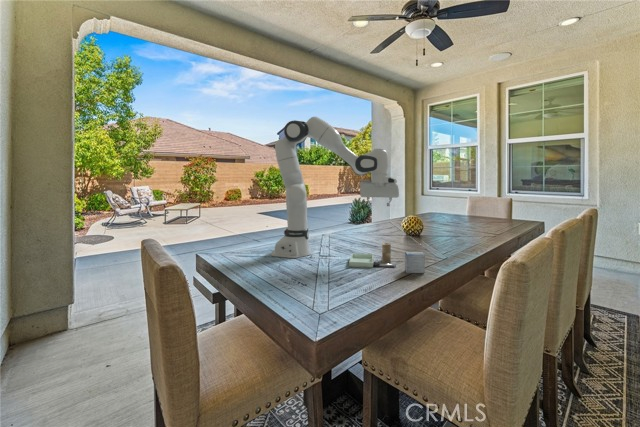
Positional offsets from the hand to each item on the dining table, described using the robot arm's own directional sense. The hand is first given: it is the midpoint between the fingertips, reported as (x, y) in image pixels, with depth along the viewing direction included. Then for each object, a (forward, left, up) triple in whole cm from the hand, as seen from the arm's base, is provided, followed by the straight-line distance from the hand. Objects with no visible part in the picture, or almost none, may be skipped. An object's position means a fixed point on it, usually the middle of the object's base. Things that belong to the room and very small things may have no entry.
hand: (379, 206), depth 163 cm
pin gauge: (+3, -22, -26) cm, 34 cm away
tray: (-8, -17, -26) cm, 32 cm away
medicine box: (+16, -28, -27) cm, 42 cm away
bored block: (+4, -13, -27) cm, 30 cm away
